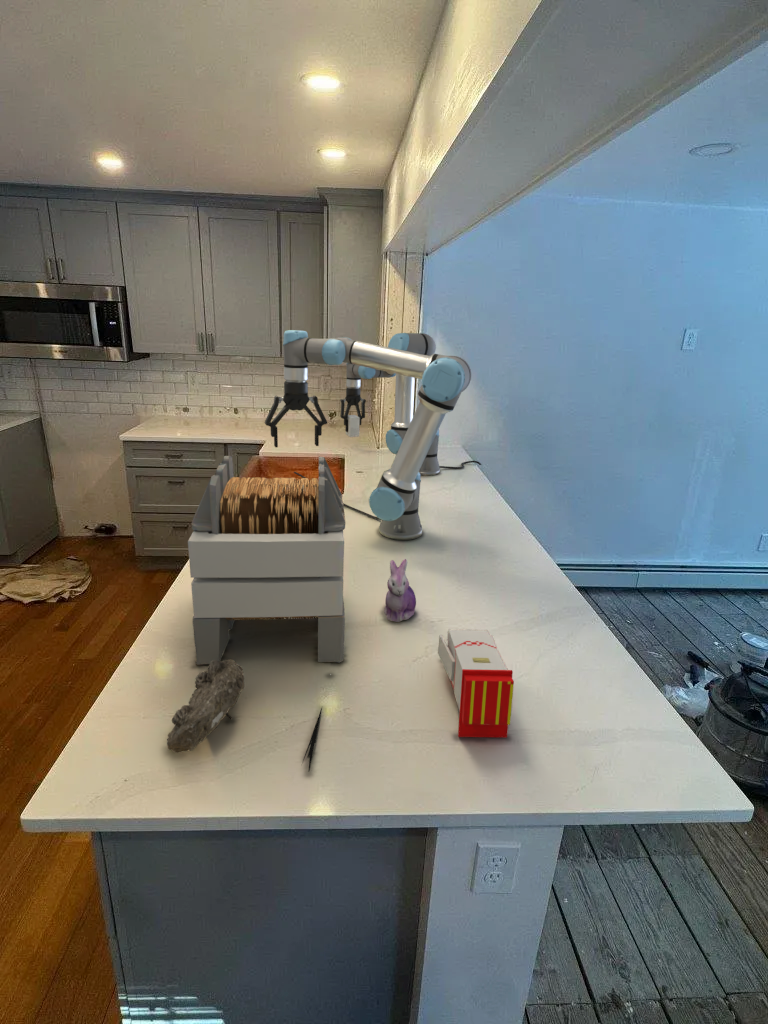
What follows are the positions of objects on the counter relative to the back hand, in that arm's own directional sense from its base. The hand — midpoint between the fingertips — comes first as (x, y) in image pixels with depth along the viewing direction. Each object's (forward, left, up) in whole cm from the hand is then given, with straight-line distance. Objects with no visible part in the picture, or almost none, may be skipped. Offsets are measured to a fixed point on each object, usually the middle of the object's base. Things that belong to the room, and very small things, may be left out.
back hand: (352, 431), depth 304 cm
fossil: (+170, +128, -12) cm, 213 cm away
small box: (0, 0, -2) cm, 2 cm away
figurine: (+115, +129, -12) cm, 173 cm away
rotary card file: (+141, +110, -12) cm, 179 cm away
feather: (+157, +143, -12) cm, 213 cm away
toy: (+129, +159, -12) cm, 206 cm away
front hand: (+96, +66, +19) cm, 118 cm away
